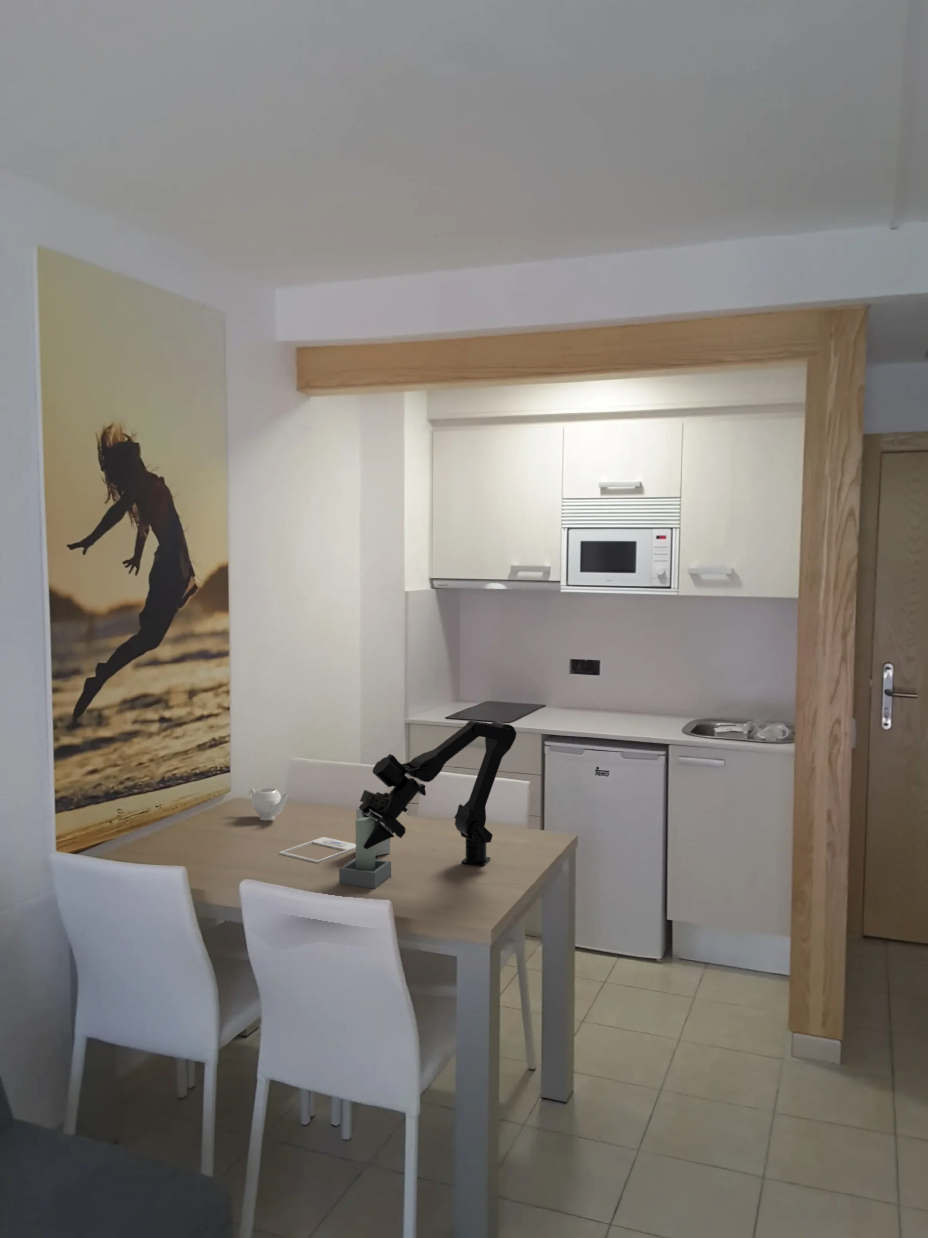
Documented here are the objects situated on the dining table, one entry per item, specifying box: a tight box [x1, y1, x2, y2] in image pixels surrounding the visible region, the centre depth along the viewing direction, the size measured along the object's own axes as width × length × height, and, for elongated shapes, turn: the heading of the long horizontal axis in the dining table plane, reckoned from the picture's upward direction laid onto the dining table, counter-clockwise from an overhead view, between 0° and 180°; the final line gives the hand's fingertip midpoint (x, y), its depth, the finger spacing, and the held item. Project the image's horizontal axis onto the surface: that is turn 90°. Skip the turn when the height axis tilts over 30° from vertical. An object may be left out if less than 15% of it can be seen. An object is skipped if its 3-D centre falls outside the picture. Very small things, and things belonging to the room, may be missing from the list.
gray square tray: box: [338, 857, 392, 890], centre depth 250 cm, size 10×10×4 cm
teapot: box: [247, 787, 289, 821], centre depth 309 cm, size 10×20×9 cm, turn 49°
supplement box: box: [355, 807, 391, 857], centre depth 273 cm, size 7×7×13 cm
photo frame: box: [279, 836, 356, 864], centre depth 276 cm, size 15×1×18 cm
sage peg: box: [355, 818, 376, 871], centre depth 250 cm, size 5×5×13 cm
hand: (360, 845), depth 249 cm, fingers closed on sage peg, 5 cm apart
